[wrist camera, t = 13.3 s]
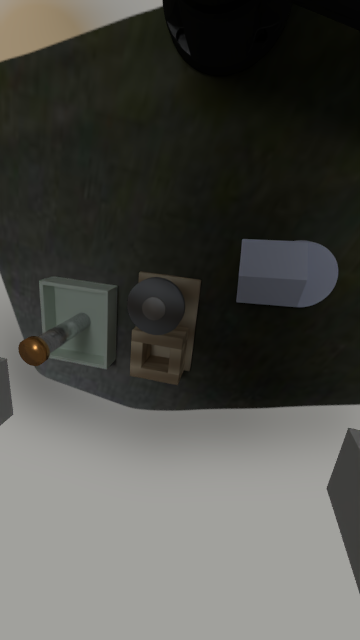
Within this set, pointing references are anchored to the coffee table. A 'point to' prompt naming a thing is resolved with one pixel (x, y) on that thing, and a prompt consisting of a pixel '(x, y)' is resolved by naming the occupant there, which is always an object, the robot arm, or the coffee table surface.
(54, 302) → the tray
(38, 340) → the lock pin
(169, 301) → the block
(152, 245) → the coffee table surface
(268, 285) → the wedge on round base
